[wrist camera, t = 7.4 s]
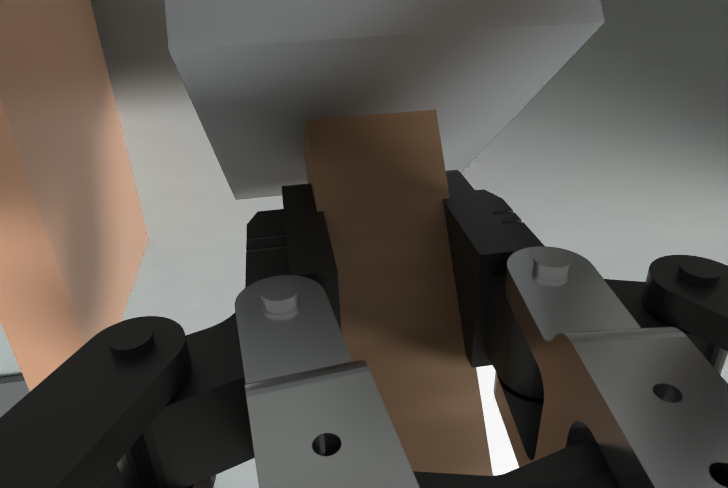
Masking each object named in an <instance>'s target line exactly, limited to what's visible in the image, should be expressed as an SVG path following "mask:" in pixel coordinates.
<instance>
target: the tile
mask: <svg viewBox="0 0 728 488" xmlns="http://www.w3.org/2000/svg"><path fill="white" fill-rule="evenodd" d="M148 240H149V238H148V233H147V229H146V225H145V221H144V217H143V213H142V209H141V205H140V201H139V197H138V193H137V189H136V184H135V180H134V176H133V172H132V168H131V164H130V160H129V156H128V152H127V148H126V144H125V139H124V135H123V131H122V127H121V123H120V119H119V115H118V111H117V107H116V103H115V99H114V95H113V90H112V86H111V82H110V78H109V74H108V70H107V66H106V62H105V58H104V54H103V50H102V45H101V41H100V37H99V33H98V29H97V25H96V21H95V17H94V13H93V9H92V5H91V1H90V0H0V322H1V324H2V327H3V329H4V332H5V334H6V336H7V339H8V341H9V343H10V346H11V348H12V351H13V353H14V355H15V358H16V360H17V362H18V365H19V367H20V370H21V372H22V374H23V377H24V379H25V381H26V384H27V386H28V389H29V391H31V390H33V389H34V388H35V387H36V386H37V385H38V384H39V383H41V382H42V381H43V380H44V379H45V378H46V377H47V376H49V375H50V374H51V373H52V372H53V371H54V370H56V369H57V368H58V367H59V366H60V365H61V364H62V363H64V362H65V361H66V360H67V359H68V358H69V357H71V356H72V355H73V354H74V353H75V352H76V351H77V350H79V349H80V348H81V347H82V346H83V345H84V344H85V343H87V342H88V341H89V340H90V339H91V338H92V337H94V336H95V335H96V334H98V333H99V332H101V331H102V330H104V329H105V328H107V327H109V326H112V325H114V324H116V323H119V322H121V320H122V317H123V314H124V311H125V308H126V305H127V302H128V299H129V296H130V293H131V290H132V287H133V284H134V281H135V278H136V276H137V273H138V270H139V267H140V264H141V261H142V258H143V255H144V252H145V249H146V246H147V243H148Z"/></svg>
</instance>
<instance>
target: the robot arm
mask: <svg viewBox="0 0 728 488" xmlns="http://www.w3.org/2000/svg"><path fill="white" fill-rule="evenodd" d="M446 177H447V183H448V190H449V196H450V198H447V199H443V206H444V212H445V219H446V225H447V232H448V239H449V245H450V252H451V259H452V265H453V272H454V279H455V285H456V292H457V299H458V305H459V312H460V319H461V325H462V332H463V338H464V345H465V352H466V357H467V359H468V361H469V363H470V365H471V368H473V367H480V366H487V365H493V366H494V368H495V370H496V374H495V384H494V395H495V399H496V402H497V404H498V407H499V410H500V413H501V416H502V419H503V422H504V424H505V427H506V430H507V433H508V436H509V439H510V442H511V444H512V447H513V450H514V453H515V456H516V459H517V462H518V465H519V467H520V468H518V469H515V470H513V471H511V472H508V473H506V474H503V475H498V476H483V475H467V474H450V473H434V472H417V471H412V468H411V466H410V464H409V461H408V459H407V457H406V454H405V452H404V450H403V447H402V445H401V443H400V440H399V438H398V435H397V433H396V431H395V428H394V426H393V424H392V421H391V419H390V417H389V414H388V412H387V410H386V407H385V405H384V403H383V400H382V398H381V395H380V393H379V391H378V388H377V386H376V384H375V381H374V379H373V377H372V374H371V372H370V370H369V368H368V366H367V364H366V362H365V361H364V360H357V361H352V358H351V356H350V353H349V351H348V348H347V345H346V343H345V340H344V338H343V335H342V332H341V316H340V301H339V285H338V270H337V266H336V262H335V258H334V254H333V249H332V245H331V241H330V237H329V233H328V228H327V224H326V220H325V216H324V212H323V211H318V212H317V209H316V204H315V200H314V195H313V191H312V186H311V183H308V184H297V185H287V186H282V196H283V206H284V209H280V210H270V211H260V212H257V213H256V214H255V216H254V217H253V218H252V219H251V220H250V222H249V223H248V224H247V245H246V250H247V252H246V287H245V289H244V290H242V292H241V293H240V294H239V295H238V297H237V298H236V301H235V313H234V314H233V315H232V316H231V317H229V318H228V319H226V320H225V321H223V322H221V323H219V324H217V325H215V326H213V327H210V328H207V329H205V330H201V331H198V332H195V333H192V334H189V335H186V336H185V333H184V330H183V328H182V327H181V326H180V325H179V324H178V323H177V322H175V321H173V320H171V319H168V318H164V317H157V316H146V317H137V318H132V319H128V320H125V321H121V322H119V323H116V324H114V325H112V326H109V327H107V328H105V329H104V330H102V331H101V332H99V333H98V334H96V335H95V336H94V337H92V338H91V339H90V340H89V341H88V342H87V343H85V344H84V345H83V346H82V347H81V348H80V349H79V350H77V351H76V352H75V353H74V354H73V355H72V356H71V357H69V358H68V359H67V360H66V361H65V362H64V363H62V364H61V365H60V366H59V367H58V368H57V369H56V370H54V371H53V372H52V373H51V374H50V375H49V376H47V377H46V378H45V379H44V380H43V381H42V382H41V383H39V384H38V385H37V386H36V387H35V388H34V389H33V390H31V391H30V392H29V393H28V394H27V395H26V396H24V397H23V398H22V399H21V400H20V401H19V402H18V403H16V404H15V405H14V406H13V407H12V408H11V409H10V410H8V411H7V412H6V413H5V414H4V415H3V416H1V417H0V488H213V485H214V482H215V479H216V474H218V473H221V472H223V471H225V470H227V469H230V468H232V467H234V466H237V465H239V464H241V463H243V462H246V461H248V460H250V459H252V458H255V462H256V469H257V476H258V483H259V488H728V384H727V382H726V381H725V380H724V379H723V378H722V377H721V375H720V374H721V371H722V368H723V365H724V363H725V360H726V357H727V354H728V266H727V265H724V264H722V263H719V262H716V261H713V260H710V259H706V258H702V257H697V256H689V255H670V256H664V257H661V258H658V259H656V260H655V261H653V262H652V263H651V265H650V267H649V271H648V275H647V279H646V282H637V281H623V280H609V279H603V278H602V276H601V275H600V274H599V272H598V271H597V270H596V268H595V267H594V266H593V265H592V264H591V263H590V261H588V260H587V259H586V258H584V257H582V256H581V255H579V254H577V253H574V252H572V251H569V250H565V249H561V248H556V247H546V246H544V245H543V244H542V243H541V242H540V240H539V239H538V238H537V237H536V236H535V235H534V234H533V233H532V231H531V230H530V229H529V228H528V227H527V226H526V225H525V224H524V223H522V222H521V219H520V218H519V217H518V216H517V215H516V213H513V210H512V209H511V208H510V207H509V206H508V204H507V203H506V202H505V201H504V200H503V199H502V198H500V197H498V196H496V195H494V194H492V193H490V192H488V191H486V190H474V189H473V188H472V186H471V185H470V184H469V183H468V181H467V180H466V179H465V178H464V176H463V175H462V174H461V173H460V172H459V171H458V170H448V171H446Z"/></svg>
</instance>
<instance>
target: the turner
mask: <svg viewBox="0 0 728 488" xmlns="http://www.w3.org/2000/svg"><path fill="white" fill-rule="evenodd" d="M164 1H165V13H166V25H167V37H168V50H169V52H170V54H171V56H172V59H173V61H174V63H175V65H176V68H177V70H178V72H179V74H180V76H181V79H182V81H183V83H184V85H185V88H186V90H187V92H188V94H189V97H190V99H191V101H192V103H193V105H194V108H195V110H196V112H197V114H198V117H199V119H200V121H201V123H202V126H203V128H204V130H205V132H206V134H207V137H208V139H209V141H210V143H211V146H212V148H213V150H214V152H215V155H216V157H217V159H218V161H219V163H220V166H221V168H222V170H223V172H224V175H225V177H226V179H227V181H228V184H229V186H230V188H231V190H232V192H233V195H234V197H235V199H236V200H239V199H249V198H259V197H269V196H280V195H282V186H287V185H297V184H308V183H311V186H312V191H313V195H314V200H315V204H316V209H317V212H318V211H323V212H324V216H325V220H326V224H327V228H328V233H329V237H330V241H331V245H332V249H333V254H334V258H335V262H336V266H337V270H338V285H339V301H340V316H341V332H342V335H343V338H344V340H345V343H346V345H347V348H348V351H349V353H350V356H351V358H352V361H357V360H364V361H365V362H366V364H367V366H368V368H369V370H370V372H371V374H372V377H373V379H374V381H375V384H376V386H377V388H378V391H379V393H380V395H381V398H382V400H383V403H384V405H385V407H386V410H387V412H388V414H389V417H390V419H391V421H392V424H393V426H394V428H395V431H396V433H397V435H398V438H399V440H400V443H401V445H402V447H403V450H404V452H405V454H406V457H407V459H408V461H409V464H410V466H411V468H412V471H417V472H434V473H450V474H467V475H483V476H493V475H492V468H491V462H490V455H489V449H488V442H487V436H486V429H485V423H484V416H483V410H482V403H481V397H480V390H479V384H478V377H477V371H476V367H473V368H471V365H470V363H469V361H468V359H467V357H466V352H465V345H464V338H463V332H462V325H461V319H460V312H459V305H458V299H457V292H456V285H455V279H454V272H453V265H452V259H451V252H450V245H449V239H448V232H447V225H446V219H445V212H444V206H443V199H447V198H450V196H449V190H448V183H447V177H446V171H448V170H458V171H459V172H460V173H462V172H463V171H464V170H465V169H466V167H467V166H468V165H469V164H470V163H471V162H472V161H473V160H474V159H475V158H476V157H477V156H478V155H479V154H480V153H481V152H482V151H483V150H484V149H485V147H486V146H487V145H488V144H489V143H490V142H491V141H492V140H493V139H494V138H495V137H496V136H497V135H498V134H499V133H500V132H501V131H502V130H503V129H504V127H505V126H506V125H507V124H508V123H509V122H510V121H511V120H512V119H513V118H514V117H515V116H516V115H517V114H518V113H519V112H520V111H521V110H522V109H523V107H524V106H525V105H526V104H527V103H528V102H529V101H530V100H531V99H532V98H533V97H534V96H535V95H536V94H537V93H538V92H539V91H540V90H541V89H542V88H543V86H544V85H545V84H546V83H547V82H548V81H549V80H550V79H551V78H552V77H553V76H554V75H555V74H556V73H557V72H558V71H559V70H560V69H561V68H562V66H563V65H564V64H565V63H566V62H567V61H568V60H569V59H570V58H571V57H572V56H573V55H574V54H575V53H576V52H577V51H578V50H579V49H580V48H581V46H582V45H583V44H584V43H585V42H586V41H587V40H588V39H589V38H590V37H591V36H592V35H593V34H594V33H595V32H596V31H597V30H598V29H599V28H600V26H601V25H602V24H603V23H604V22H605V19H604V14H603V10H602V5H601V0H164Z"/></svg>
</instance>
